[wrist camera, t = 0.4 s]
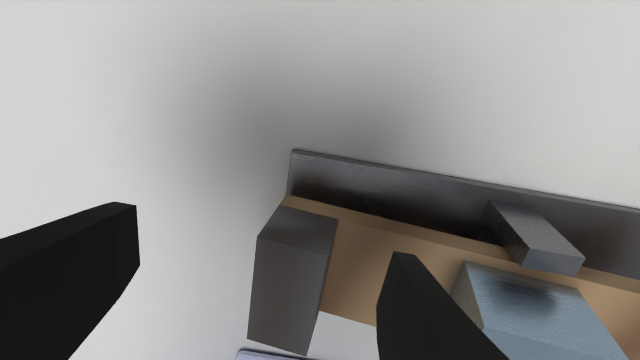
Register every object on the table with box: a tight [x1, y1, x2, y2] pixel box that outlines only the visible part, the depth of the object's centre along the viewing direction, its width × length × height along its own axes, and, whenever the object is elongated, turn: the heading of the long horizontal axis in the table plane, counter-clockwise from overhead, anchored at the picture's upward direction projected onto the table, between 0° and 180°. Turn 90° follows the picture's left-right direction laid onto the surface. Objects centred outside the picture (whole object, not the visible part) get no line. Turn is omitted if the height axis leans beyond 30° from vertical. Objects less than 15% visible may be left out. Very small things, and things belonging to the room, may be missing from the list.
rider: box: [449, 260, 629, 360], centre depth 15 cm, size 5×5×4 cm
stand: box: [286, 149, 640, 280], centre depth 18 cm, size 24×10×5 cm, turn 81°
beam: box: [247, 194, 640, 360], centre depth 16 cm, size 24×6×4 cm, turn 81°
